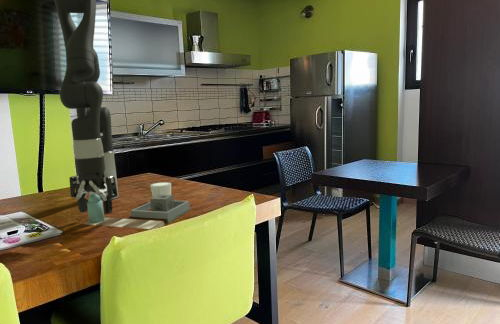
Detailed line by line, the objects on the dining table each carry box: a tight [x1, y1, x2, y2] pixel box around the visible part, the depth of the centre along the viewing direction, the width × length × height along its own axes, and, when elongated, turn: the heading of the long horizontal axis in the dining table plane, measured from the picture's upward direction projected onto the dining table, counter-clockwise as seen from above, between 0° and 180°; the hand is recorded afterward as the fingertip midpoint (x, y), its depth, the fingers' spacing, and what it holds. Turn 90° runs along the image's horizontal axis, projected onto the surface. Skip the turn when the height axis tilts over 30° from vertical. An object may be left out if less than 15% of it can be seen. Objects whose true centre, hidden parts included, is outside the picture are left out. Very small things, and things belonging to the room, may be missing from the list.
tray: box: [130, 200, 191, 224], centre depth 112 cm, size 12×12×3 cm
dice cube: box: [149, 194, 175, 212], centre depth 112 cm, size 5×5×5 cm
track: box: [83, 216, 165, 230], centre depth 103 cm, size 22×7×1 cm, turn 71°
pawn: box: [87, 194, 105, 224], centre depth 105 cm, size 4×4×8 cm
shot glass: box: [149, 181, 172, 198], centre depth 125 cm, size 7×7×7 cm
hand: (95, 212), depth 105 cm, fingers open, 8 cm apart
